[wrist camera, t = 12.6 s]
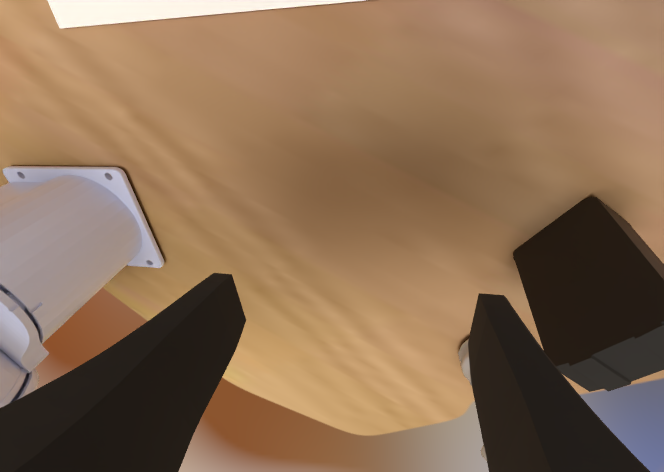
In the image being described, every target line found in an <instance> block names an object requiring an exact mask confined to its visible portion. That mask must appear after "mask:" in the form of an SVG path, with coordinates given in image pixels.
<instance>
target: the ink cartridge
mask: <svg viewBox="0 0 664 472" xmlns="http://www.w3.org/2000/svg"><path fill="white" fill-rule="evenodd" d="M513 255H514V257H513V258H514V260H515V262H516V265H517V268H518V271H519V274H520V278H521V281H522V284H523V287H524V290H525V293H526V296H527V299H528V302H529V306H530V309H531V312H532V315H533V318H534V321H535V324H536V327H537V330H538V334H539V337H540V340H541V343H542V346H543V349H544V352H545V353H546V354H547V356H548V357H549V358H550V360H551V361H552V362H553V363H554V365H555V366H556V367H557V368H558V370H559V371H560V372H561V373H562V374H563V375H565V376H566V377H568V378H569V379H571V380H572V381H574V382H576V383H577V384H579V385H580V386H582V387H583V388H585V389H586V390H588V391H589V392H590V391H595V390H599V389H605V390H607V391H611V390H614V389H617V388H620V387H623V386H626V385H629V384H631V381H634V380H637V379H639V378H642V377H645V376H647V375H650V374H653V373H656V372H658V371H661V370H664V264H663V263H662V262H661V261H660V259H659V258H658V257H657V256H656V255H655V254H654V252H653V251H652V250H651V249H650V248H649V247H648V245H647V244H646V243H645V242H644V241H643V240H642V239H641V237H640V236H639V235H638V234H637V233H636V232H635V230H634V229H633V228H632V226H631V225H630V224H629V223H628V222H627V221H626V220H625V219H623V218H622V217H621V216H619V215H618V214H617V213H616V212H614V211H613V210H612V209H611V208H609V207H608V206H607V205H605V204H604V203H603V202H602V201H600V200H599V199H598V198H597V197H590V198H587V199H585V200H583V201H581V202H580V203H578V204H577V205H575V206H574V207H573V208H571V209H570V210H569V211H567V212H566V213H565V214H563V215H562V216H560V217H559V218H558V219H556V220H555V221H554V222H552V223H551V224H550V225H548V226H547V227H545V228H544V229H543V230H541V231H540V232H539V233H537V234H536V235H535V236H533V237H532V238H531V239H529V240H528V241H527V242H525V243H524V244H523V245H521V246H520V247H519V248H517V249H516V250H515V251H514V253H513Z"/></svg>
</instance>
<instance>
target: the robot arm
mask: <svg viewBox="0 0 664 472" xmlns="http://www.w3.org/2000/svg"><path fill="white" fill-rule="evenodd" d="M3 174H4V175H5V177H6V178H7V180H8V182H9V183H7V184H5V185H3V186H1V187H0V472H178V471H179V468H180V466H181V464H182V461H183V459H184V456H185V453H186V451H187V449H188V446H189V443H190V441H191V439H192V436H193V433H194V432H195V429H196V427H197V425H198V423H199V421H200V419H201V417H202V415H203V413H204V411H205V409H206V407H207V405H208V403H209V401H210V399H211V397H212V395H213V393H214V392H215V390H216V388H217V386H218V384H219V382H220V380H221V378H222V376H223V374H224V372H225V370H226V368H227V366H228V364H229V362H230V360H231V358H232V356H233V354H234V352H235V350H236V347H237V345H238V342H239V339H240V337H241V334H242V331H243V328H244V325H245V322H246V318H245V315H244V312H243V309H242V306H241V302H240V299H239V296H238V293H237V290H236V286H235V283H234V280H233V277H232V274H219V273H213V274H212V275H211V276H209V277H208V278H206V279H205V280H203V281H202V282H201V283H199V284H198V285H197V286H195V287H194V288H192V289H191V290H190V291H188V292H187V293H186V294H184V295H183V296H182V297H181V298H179V299H178V300H177V301H175V302H174V303H172V304H171V305H170V306H168V307H167V308H166V309H164V310H163V311H162V312H160V313H159V314H158V315H156V316H155V317H154V318H152V319H151V320H149V321H148V322H146V323H145V324H144V325H142V326H141V327H139V328H138V329H136V330H135V331H133V332H132V333H130V334H129V335H128V336H126V337H125V338H123V339H122V340H120V341H119V342H117V343H116V344H114V345H113V346H112V347H110V348H108V349H107V350H105V351H103V352H102V353H100V354H99V355H97V356H95V357H94V358H92V359H90V360H89V361H87V362H85V363H84V364H82V365H80V366H79V367H77V368H75V369H74V370H72V371H70V372H68V373H67V374H65V375H63V376H61V377H59V378H57V379H56V380H54V381H52V382H50V383H48V384H46V385H44V386H42V387H40V388H39V389H37V390H36V388H37V385H38V381H39V376H38V372H37V371H36V369H35V367H36V366H37V365H38V364H39V363H40V362H41V361H42V360H43V359H44V358H45V357H46V356H47V355H48V354H49V352H48V351H47V350H46V349H45V348H44V347H43V346H42V343H43V342H45V340H47V339H48V338H49V337H50V336H51V335H52V334H53V333H54V332H55V331H56V330H57V329H58V328H60V327H61V326H62V324H64V323H65V322H66V321H67V320H68V319H69V318H70V317H71V316H72V315H73V314H74V313H75V312H76V311H78V310H79V309H80V308H81V307H82V306H83V305H84V304H85V303H86V302H87V301H88V300H89V299H91V298H92V297H93V296H94V295H95V294H96V293H97V292H98V291H99V290H100V289H101V288H102V287H103V286H104V285H106V284H107V283H108V282H109V281H110V280H111V279H112V278H113V277H114V276H115V275H116V274H117V273H118V272H119V271H121V270H122V269H123V268H124V267H125V266H126V265H127V266H140V267H153V268H161V267H162V266H163V265H164V259H163V257H162V255H161V253H160V250H159V248H158V246H157V244H156V241H155V239H154V237H153V235H152V232H151V230H150V228H149V226H148V223H147V221H146V219H145V217H144V214H143V212H142V210H141V208H140V205H139V203H138V201H137V199H136V196H135V194H134V192H133V190H132V187H131V185H130V183H129V181H128V178H127V176H126V174H125V172H124V171H123V170H122V169H120V168H118V167H59V166H8V167H6V168H4V169H3ZM110 174H111V175H110ZM468 352H469V365H470V375H471V383H472V388H473V393H474V398H475V403H476V408H477V413H478V418H479V423H480V428H481V433H482V438H483V443H484V448H485V453H486V458H487V463H488V468H489V472H650V471H649V470H648V469H647V468H646V467H645V466H644V465H643V464H642V463H641V462H640V461H639V460H638V459H637V458H636V457H635V456H634V455H633V454H632V453H631V452H630V451H629V450H628V449H627V448H626V446H625V445H624V444H623V443H622V442H621V441H620V440H619V439H618V438H617V437H616V436H615V435H614V434H613V433H612V432H611V431H610V429H609V428H608V427H607V426H606V425H605V424H604V423H603V422H602V421H601V420H600V418H599V417H598V416H597V415H596V414H595V413H594V412H593V411H592V409H591V408H590V407H589V406H588V405H587V404H586V402H585V401H584V400H583V399H582V398H581V397H580V395H579V394H578V393H577V392H576V391H575V390H574V388H573V387H572V386H571V385H570V383H569V382H568V381H567V380H566V379H565V377H564V376H563V375H562V374H561V372H560V371H559V370H558V368H557V367H556V366H555V365H554V363H553V362H552V361H551V360H550V358H549V357H548V356H547V354H546V353H545V352H544V351H543V349H542V348H541V347H540V345H539V344H538V342H537V341H536V340H535V338H534V337H533V336H532V334H531V333H530V331H529V330H528V329H527V327H526V326H525V324H524V323H523V322H522V320H521V319H520V317H519V316H518V314H517V313H516V311H515V310H514V309H513V307H512V306H511V304H510V303H509V301H508V300H507V298H506V297H505V296H504V295H492V294H479V296H478V300H477V305H476V309H475V314H474V318H473V323H472V327H471V332H470V336H469V341H468Z"/></svg>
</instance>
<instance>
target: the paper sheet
mask: <svg viewBox="0 0 664 472" xmlns="http://www.w3.org/2000/svg"><path fill="white" fill-rule="evenodd" d="M47 1H48V3H49V5H50V7H51V10H52V12H53V14H54V16H55V19H56V21H57V23H58V25H59V28H71V27H81V26H92V25H103V24H114V23H125V22H136V21H147V20H158V19H168V18H179V17H190V16H201V15H212V14H223V13H234V12H245V11H256V10H266V9H277V8H288V7H299V6H310V5H321V4H332V3H343V2H353V1H364V0H47Z"/></svg>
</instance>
